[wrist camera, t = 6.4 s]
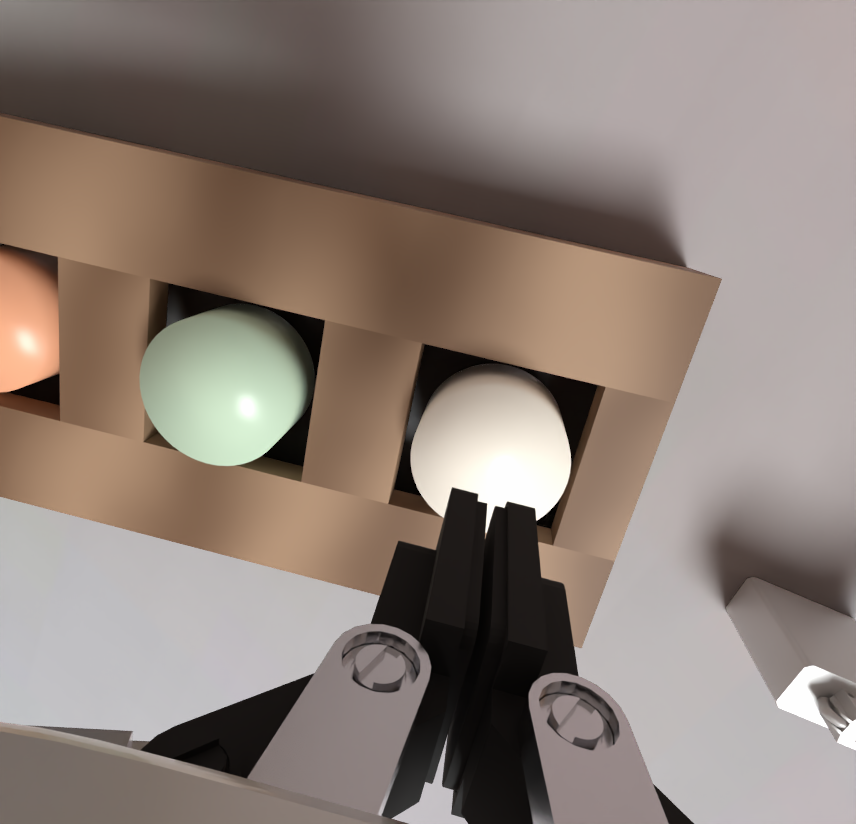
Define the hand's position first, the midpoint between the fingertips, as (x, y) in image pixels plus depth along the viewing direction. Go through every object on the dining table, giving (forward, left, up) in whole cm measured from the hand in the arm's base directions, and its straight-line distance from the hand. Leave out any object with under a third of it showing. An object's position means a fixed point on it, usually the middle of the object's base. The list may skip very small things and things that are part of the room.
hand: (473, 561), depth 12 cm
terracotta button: (+16, 0, -8) cm, 18 cm away
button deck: (+8, 0, -9) cm, 12 cm away
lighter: (-14, +5, -9) cm, 17 cm away
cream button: (0, 0, -7) cm, 7 cm away
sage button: (+8, 0, -7) cm, 11 cm away
